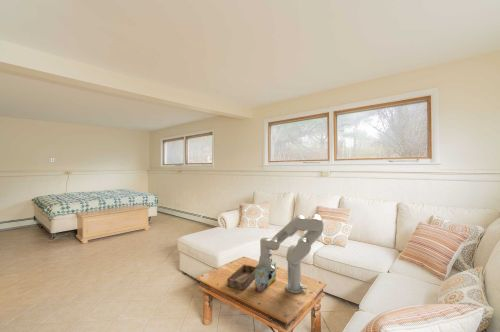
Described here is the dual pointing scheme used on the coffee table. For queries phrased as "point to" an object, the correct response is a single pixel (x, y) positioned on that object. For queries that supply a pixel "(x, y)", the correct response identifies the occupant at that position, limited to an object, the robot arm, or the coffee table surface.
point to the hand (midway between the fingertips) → (265, 277)
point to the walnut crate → (242, 277)
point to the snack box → (264, 278)
